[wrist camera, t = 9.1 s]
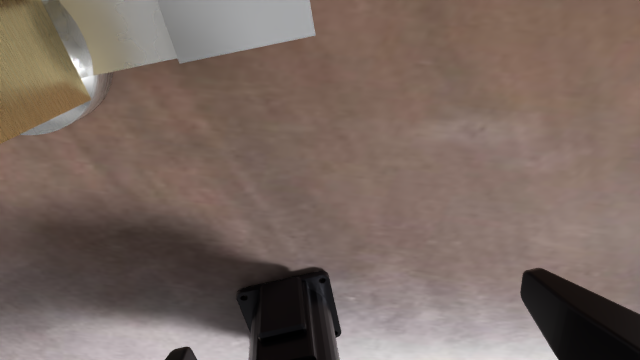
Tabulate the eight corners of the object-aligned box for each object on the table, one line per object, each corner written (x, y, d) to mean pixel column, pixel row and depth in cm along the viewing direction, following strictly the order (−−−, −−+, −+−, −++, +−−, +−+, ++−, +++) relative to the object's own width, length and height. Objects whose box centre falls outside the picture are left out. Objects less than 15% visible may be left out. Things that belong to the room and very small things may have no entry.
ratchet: (2, 135, 17) (-106, 183, 12) (-101, -22, 14) (-302, -40, 9) (317, 69, 18) (332, 91, 13) (287, -99, 14) (292, -155, 10)
